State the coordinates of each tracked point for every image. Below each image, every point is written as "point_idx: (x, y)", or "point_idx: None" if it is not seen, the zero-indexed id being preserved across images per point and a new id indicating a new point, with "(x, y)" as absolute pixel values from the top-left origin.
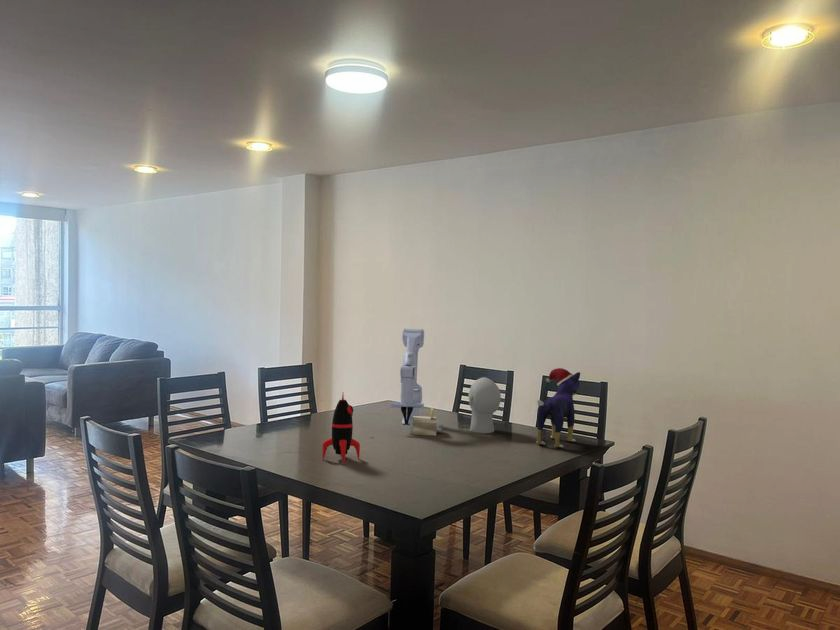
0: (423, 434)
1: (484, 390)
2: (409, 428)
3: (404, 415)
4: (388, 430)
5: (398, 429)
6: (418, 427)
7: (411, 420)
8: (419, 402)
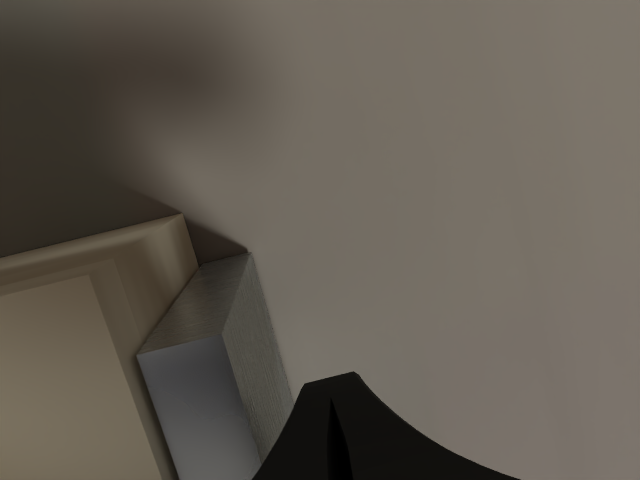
0: (16, 254)
1: None
2: None
3: (411, 459)
4: (590, 360)
5: None
6: (42, 262)
7: (179, 345)
8: None
